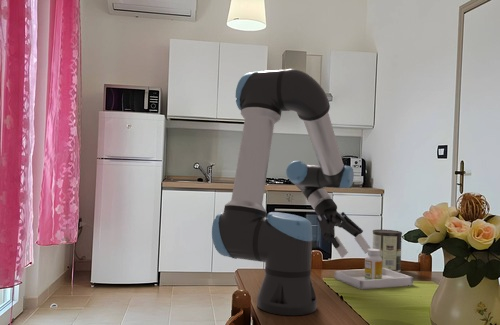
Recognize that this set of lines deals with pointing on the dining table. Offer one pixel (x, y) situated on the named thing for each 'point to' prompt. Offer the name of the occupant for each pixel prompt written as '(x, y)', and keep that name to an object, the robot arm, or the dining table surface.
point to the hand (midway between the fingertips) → (357, 253)
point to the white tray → (359, 281)
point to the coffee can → (388, 248)
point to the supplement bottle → (373, 265)
